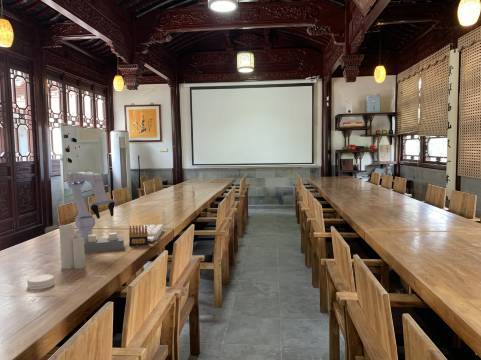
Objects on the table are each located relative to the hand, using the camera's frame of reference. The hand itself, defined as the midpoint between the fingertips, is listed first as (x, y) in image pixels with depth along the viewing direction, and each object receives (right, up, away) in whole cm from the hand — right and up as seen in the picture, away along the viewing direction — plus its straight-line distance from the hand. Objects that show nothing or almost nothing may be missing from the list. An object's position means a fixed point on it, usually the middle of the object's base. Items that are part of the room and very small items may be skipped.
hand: (105, 217), depth 210 cm
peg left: (-8, -15, +2) cm, 17 cm away
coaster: (-8, -24, -52) cm, 58 cm away
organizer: (+16, -16, +33) cm, 41 cm away
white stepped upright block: (-6, -21, -27) cm, 35 cm away
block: (-3, -18, +5) cm, 19 cm away
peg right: (+2, -14, +6) cm, 16 cm away
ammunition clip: (+15, -18, +13) cm, 27 cm away
